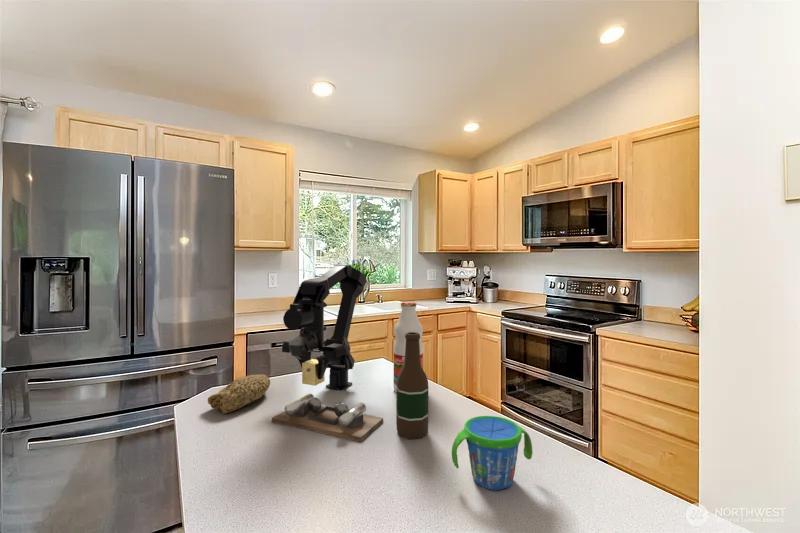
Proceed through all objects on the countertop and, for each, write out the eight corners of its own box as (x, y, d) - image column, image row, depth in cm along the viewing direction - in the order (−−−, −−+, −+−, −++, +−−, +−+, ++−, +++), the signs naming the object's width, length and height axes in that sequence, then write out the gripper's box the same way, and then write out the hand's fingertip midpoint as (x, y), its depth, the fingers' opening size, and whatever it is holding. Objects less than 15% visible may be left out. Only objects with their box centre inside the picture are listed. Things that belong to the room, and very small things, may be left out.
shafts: (306, 404, 103) (306, 391, 103) (366, 415, 96) (366, 401, 96) (284, 416, 95) (284, 402, 95) (347, 430, 88) (347, 414, 88)
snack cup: (458, 500, 65) (459, 442, 65) (445, 466, 76) (445, 416, 76) (545, 495, 67) (545, 438, 67) (520, 463, 77) (520, 413, 77)
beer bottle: (426, 441, 86) (426, 337, 86) (392, 438, 88) (393, 335, 87) (430, 426, 94) (430, 330, 93) (399, 424, 95) (399, 329, 95)
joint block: (312, 378, 112) (312, 358, 112) (325, 380, 110) (325, 360, 110) (301, 383, 107) (301, 363, 107) (314, 386, 106) (314, 364, 106)
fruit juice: (425, 386, 123) (426, 301, 123) (419, 396, 114) (419, 304, 114) (398, 383, 126) (398, 300, 125) (389, 393, 117) (389, 303, 116)
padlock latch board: (300, 405, 107) (300, 393, 107) (383, 421, 96) (383, 408, 96) (271, 421, 96) (271, 408, 96) (360, 441, 86) (361, 426, 86)
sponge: (232, 422, 99) (287, 385, 116) (223, 395, 98) (280, 361, 115) (203, 420, 106) (259, 385, 123) (194, 394, 105) (252, 363, 122)
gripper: (268, 326, 105) (268, 381, 105) (324, 331, 97) (324, 391, 98) (294, 320, 115) (294, 371, 115) (347, 324, 108) (346, 379, 108)
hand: (313, 377), depth 109 cm, fingers closed on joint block, 4 cm apart
